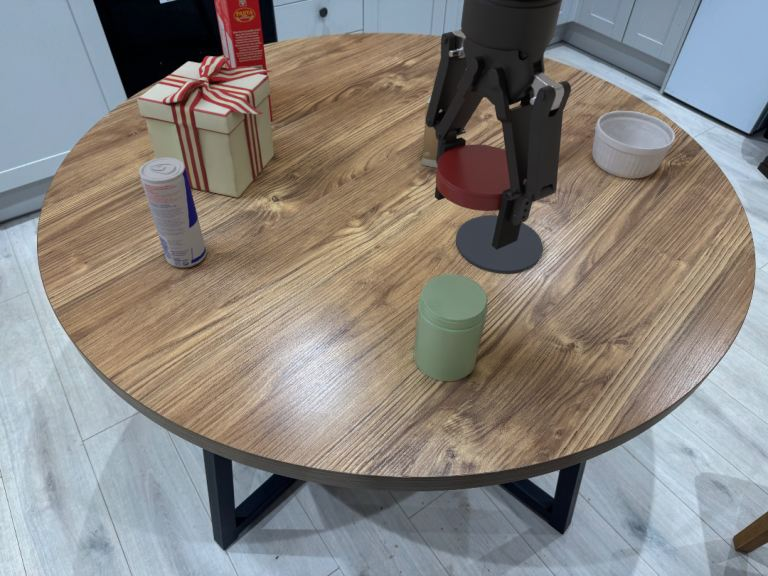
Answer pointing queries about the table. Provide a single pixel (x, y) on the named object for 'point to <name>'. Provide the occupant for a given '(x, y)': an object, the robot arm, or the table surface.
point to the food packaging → (241, 34)
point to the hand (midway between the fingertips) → (474, 217)
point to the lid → (473, 176)
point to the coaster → (508, 259)
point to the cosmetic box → (429, 144)
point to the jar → (449, 326)
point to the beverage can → (173, 211)
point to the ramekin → (631, 143)
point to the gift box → (212, 123)
